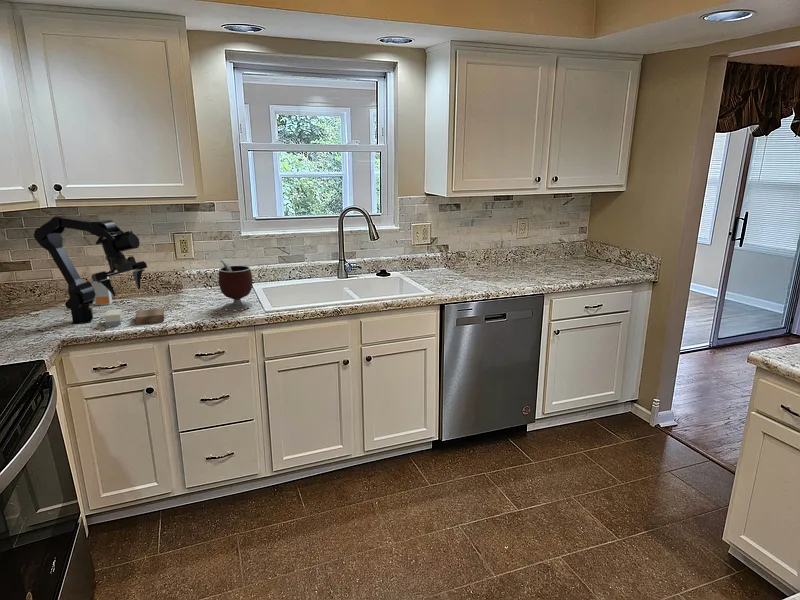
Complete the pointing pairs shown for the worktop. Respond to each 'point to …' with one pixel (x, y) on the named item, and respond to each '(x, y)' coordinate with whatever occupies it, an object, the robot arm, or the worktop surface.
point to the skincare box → (101, 294)
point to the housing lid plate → (113, 315)
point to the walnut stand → (149, 316)
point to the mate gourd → (235, 285)
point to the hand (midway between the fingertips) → (127, 292)
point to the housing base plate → (113, 323)
